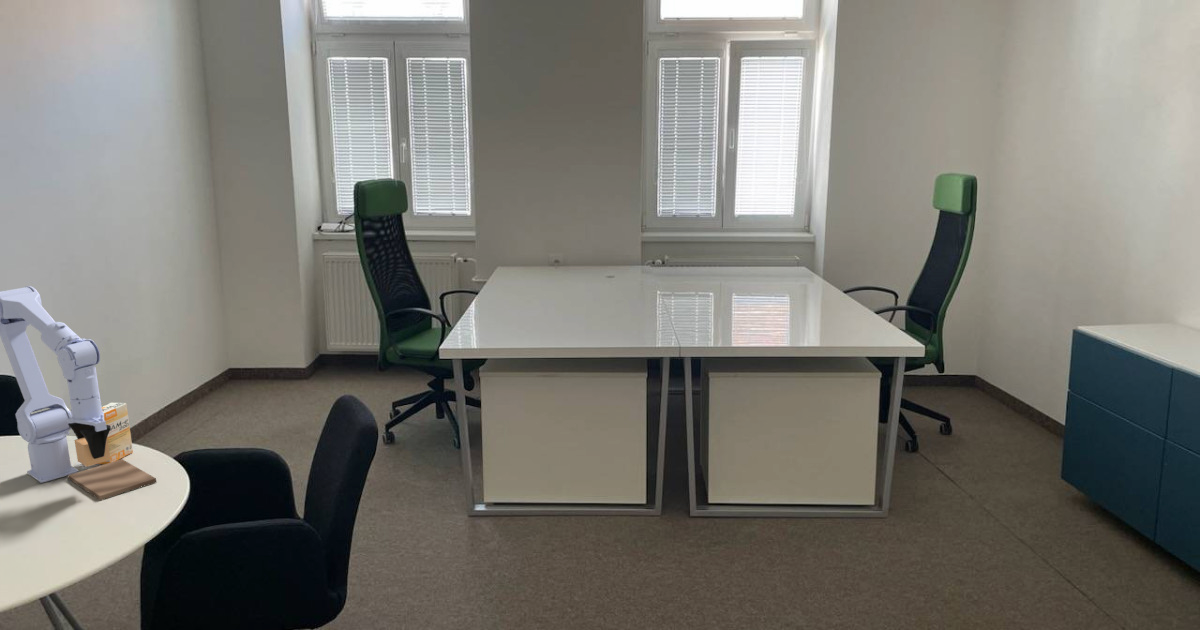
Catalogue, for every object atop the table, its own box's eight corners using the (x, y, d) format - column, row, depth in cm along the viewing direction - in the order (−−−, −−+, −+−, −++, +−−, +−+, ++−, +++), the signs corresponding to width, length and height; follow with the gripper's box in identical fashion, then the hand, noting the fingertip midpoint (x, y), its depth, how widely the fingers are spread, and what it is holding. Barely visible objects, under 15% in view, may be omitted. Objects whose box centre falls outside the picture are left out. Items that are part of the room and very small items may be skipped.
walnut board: (68, 479, 207) (68, 475, 207) (122, 463, 216) (122, 459, 216) (100, 500, 195) (99, 495, 195) (156, 482, 204) (155, 478, 204)
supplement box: (110, 465, 215) (102, 413, 212) (93, 464, 215) (85, 412, 212) (134, 452, 222) (127, 402, 219) (117, 451, 223) (110, 401, 220)
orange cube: (77, 461, 199) (74, 440, 198) (101, 454, 203) (98, 433, 202) (86, 466, 196) (83, 445, 195) (110, 459, 200) (107, 438, 199)
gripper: (52, 393, 198) (61, 451, 201) (77, 407, 189) (86, 467, 192) (87, 386, 203) (95, 442, 206) (112, 399, 194) (121, 458, 197)
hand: (93, 454), depth 199 cm, fingers closed on orange cube, 5 cm apart
